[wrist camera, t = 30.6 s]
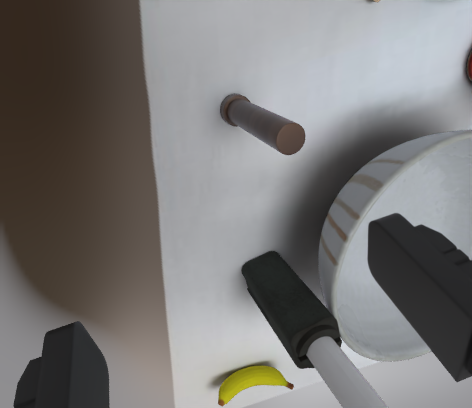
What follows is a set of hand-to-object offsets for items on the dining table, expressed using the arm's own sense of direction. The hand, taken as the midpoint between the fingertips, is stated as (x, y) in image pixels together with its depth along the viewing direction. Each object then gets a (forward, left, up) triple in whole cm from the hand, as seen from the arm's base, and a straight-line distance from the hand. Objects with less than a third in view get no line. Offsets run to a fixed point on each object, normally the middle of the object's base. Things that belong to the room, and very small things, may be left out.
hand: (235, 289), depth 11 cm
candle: (+25, +4, -29) cm, 38 cm away
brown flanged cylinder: (+5, +9, -29) cm, 31 cm away
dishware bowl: (+26, +20, -29) cm, 44 cm away
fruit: (+39, -4, -29) cm, 48 cm away
